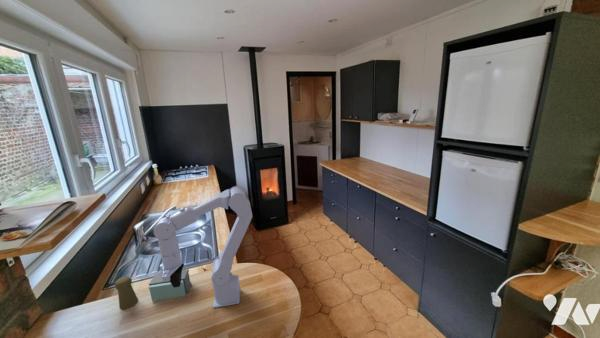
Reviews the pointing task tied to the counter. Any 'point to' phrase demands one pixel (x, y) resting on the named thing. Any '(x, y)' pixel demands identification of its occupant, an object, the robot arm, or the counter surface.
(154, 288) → the sage green bent plank
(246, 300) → the counter surface
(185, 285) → the cupboard
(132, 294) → the cork
